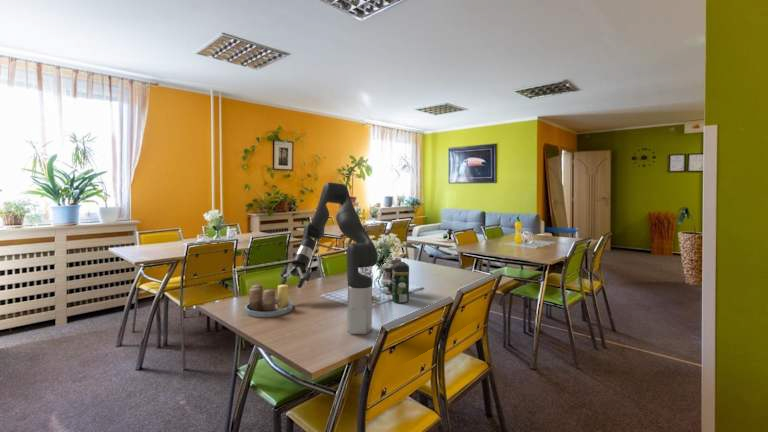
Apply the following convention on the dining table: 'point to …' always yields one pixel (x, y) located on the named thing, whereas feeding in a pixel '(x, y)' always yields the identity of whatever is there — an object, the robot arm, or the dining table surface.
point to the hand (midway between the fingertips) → (290, 286)
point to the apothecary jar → (388, 274)
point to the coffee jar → (400, 282)
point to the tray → (269, 313)
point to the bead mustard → (283, 296)
